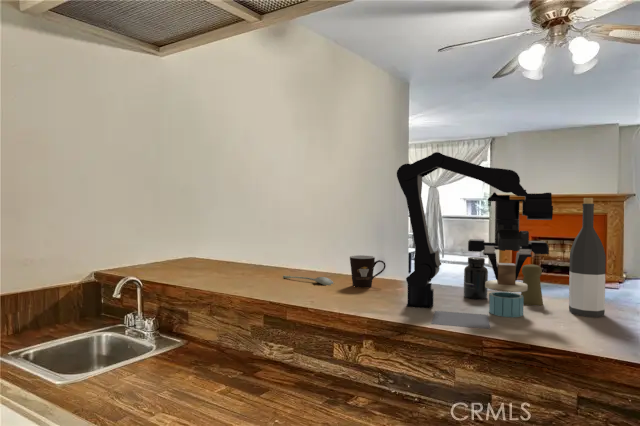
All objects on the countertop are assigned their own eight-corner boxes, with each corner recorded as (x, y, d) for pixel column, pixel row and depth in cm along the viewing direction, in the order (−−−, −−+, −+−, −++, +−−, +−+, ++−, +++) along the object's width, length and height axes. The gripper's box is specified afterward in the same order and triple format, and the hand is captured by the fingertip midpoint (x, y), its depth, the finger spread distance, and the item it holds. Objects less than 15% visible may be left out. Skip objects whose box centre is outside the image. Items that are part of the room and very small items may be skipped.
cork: (545, 306, 123) (546, 266, 122) (522, 305, 124) (523, 266, 124) (539, 301, 129) (540, 263, 128) (517, 300, 130) (518, 263, 130)
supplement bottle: (463, 298, 132) (463, 258, 132) (464, 294, 138) (464, 256, 138) (487, 300, 129) (488, 259, 129) (487, 295, 136) (487, 257, 136)
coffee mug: (346, 287, 149) (346, 257, 148) (354, 282, 157) (354, 254, 156) (379, 290, 144) (380, 259, 144) (386, 285, 152) (386, 256, 152)
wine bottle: (561, 309, 119) (563, 198, 118) (590, 309, 119) (592, 198, 118) (581, 317, 111) (583, 197, 110) (612, 317, 111) (614, 197, 110)
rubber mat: (431, 325, 103) (431, 323, 103) (434, 312, 116) (434, 310, 116) (490, 330, 99) (490, 328, 99) (487, 316, 112) (487, 314, 112)
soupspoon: (327, 289, 151) (337, 287, 156) (327, 279, 151) (338, 278, 156) (278, 280, 163) (289, 278, 169) (278, 271, 163) (290, 269, 169)
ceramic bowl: (490, 316, 111) (490, 297, 111) (488, 309, 119) (488, 291, 119) (524, 319, 109) (525, 299, 108) (520, 311, 116) (521, 293, 116)
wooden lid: (486, 290, 110) (486, 265, 110) (484, 283, 120) (484, 260, 120) (530, 293, 107) (530, 267, 107) (524, 285, 117) (525, 262, 116)
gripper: (468, 219, 108) (467, 283, 109) (553, 221, 102) (552, 288, 103) (468, 218, 119) (467, 276, 119) (545, 219, 113) (544, 280, 113)
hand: (506, 280), depth 113 cm, fingers closed on wooden lid, 4 cm apart
